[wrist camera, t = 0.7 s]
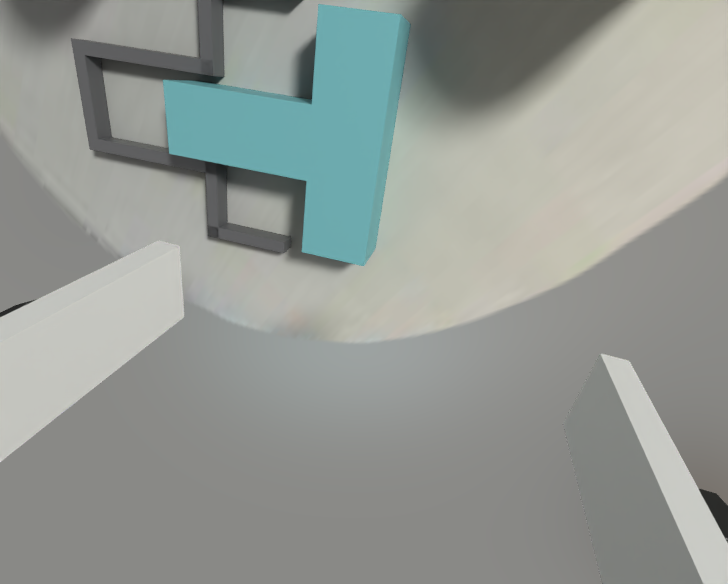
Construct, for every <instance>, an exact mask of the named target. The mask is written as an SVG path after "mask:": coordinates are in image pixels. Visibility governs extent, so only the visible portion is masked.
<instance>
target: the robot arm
mask: <svg viewBox="0 0 728 584" xmlns="http://www.w3.org/2000/svg"><path fill="white" fill-rule="evenodd" d="M183 317H184V304H183V289H182V275H181V260H180V246H179V245H175V244H171V243H167V242H163V241H159V240H158V241H156V242H154V243H152V244H150V245H148V246H146V247H144V248H142V249H140V250H138V251H136V252H134V253H132V254H130V255H128V256H125V257H123V258H121V259H119V260H117V261H115V262H113V263H111V264H109V265H107V266H105V267H103V268H101V269H99V270H97V271H95V272H93V273H91V274H88V275H86V276H84V277H82V278H80V279H78V280H76V281H74V282H72V283H70V284H68V285H66V286H64V287H62V288H60V289H58V290H56V291H54V292H51V293H50V294H47V295H45V296H43V297H41V298H39V299H36V300H33V301H29V302H26V303H22V304H19V305H16V306H13V307H11V308H9V309H7V310H5V311H3V312H1V313H0V462H1V461H2V460H3V459H5V458H6V457H7V456H8V455H10V454H11V453H12V452H13V451H15V450H16V449H17V448H18V447H20V446H21V445H22V444H24V443H25V442H26V441H27V440H28V439H30V438H31V437H33V436H34V435H35V434H36V433H37V432H39V431H40V430H41V429H43V428H44V427H45V426H46V425H48V424H49V423H50V422H51V421H53V420H54V419H55V418H56V417H58V416H59V415H60V414H62V413H63V412H64V411H65V410H67V409H68V408H69V407H70V406H72V405H73V404H74V403H76V402H77V401H78V400H79V399H81V398H82V397H83V396H84V395H86V394H87V393H88V392H90V391H91V390H92V389H93V388H95V387H96V386H97V385H98V384H100V383H101V382H102V381H103V380H105V379H106V378H107V377H109V376H110V375H111V374H112V373H114V372H115V371H116V370H118V369H119V368H120V367H121V366H123V365H124V364H125V363H126V362H128V361H129V360H130V359H132V358H133V357H134V356H135V355H137V354H138V353H139V352H140V351H142V350H143V349H144V348H145V347H147V346H148V345H149V344H151V343H152V342H153V341H154V340H156V339H157V338H158V337H159V336H161V335H162V334H163V333H164V332H166V331H167V330H168V329H170V328H171V327H172V326H173V325H175V324H176V323H177V322H178V321H180V320H181V319H182V318H183ZM563 426H564V430H565V434H566V439H567V443H568V447H569V451H570V455H571V459H572V463H573V467H574V471H575V475H576V480H577V484H578V488H579V492H580V496H581V500H582V504H583V508H584V512H585V516H586V520H587V525H588V529H589V533H590V536H591V541H592V545H593V549H594V553H595V557H596V561H597V566H598V570H599V574H600V578H601V582H602V584H728V506H727V505H726V503H724V501H723V500H722V499H721V498H720V497H719V496H718V495H717V494H716V493H712V492H709V491H705V490H702V489H698V487H697V486H696V484H695V482H694V480H693V478H692V476H691V475H690V473H689V471H688V469H687V467H686V465H685V463H684V462H683V460H682V458H681V456H680V454H679V452H678V450H677V448H676V447H675V445H674V443H673V441H672V439H671V438H670V436H669V434H668V432H667V430H666V428H665V426H664V424H663V423H662V421H661V419H660V417H659V415H658V413H657V411H656V410H655V408H654V406H653V404H652V402H651V400H650V398H649V397H648V395H647V393H646V391H645V389H644V387H643V386H642V384H641V382H640V380H639V378H638V376H637V374H636V373H635V371H634V369H633V367H632V365H631V363H630V361H628V360H624V359H620V358H616V357H612V356H608V355H605V354H600V355H599V357H598V359H597V361H596V362H595V364H594V366H593V368H592V370H591V372H590V374H589V376H588V378H587V379H586V381H585V383H584V385H583V387H582V389H581V391H580V393H579V395H578V397H577V399H576V400H575V402H574V404H573V406H572V408H571V410H570V412H569V413H568V415H567V417H566V419H565V421H564V423H563Z"/></svg>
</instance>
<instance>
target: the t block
mask: <svg viewBox="0 0 728 584" xmlns="http://www.w3.org/2000/svg"><path fill="white" fill-rule="evenodd" d="M410 25H411V24H410V23H409V22H408V21H407V20H406V19H405V18H404V17H403V16H402V15H401V14H393V13H385V12H377V11H369V10H361V9H353V8H346V7H338V6H330V5H322V4H318V19H317V34H316V49H315V63H314V78H313V93H312V100H310V99H304V98H298V97H292V96H286V95H280V94H274V93H268V92H262V91H256V90H250V89H244V88H238V87H232V86H226V85H220V84H214V83H208V82H202V81H191V80H163V86H164V98H165V110H166V121H167V133H168V145H169V154H173V155H178V156H183V157H188V158H193V159H198V160H203V161H208V162H213V163H219V164H224V165H229V166H234V167H239V168H244V169H249V170H254V171H259V172H264V173H269V174H274V175H279V176H284V177H289V178H294V179H299V180H304V181H307V182H306V196H305V211H304V226H303V241H302V252H304V253H308V254H312V255H317V256H321V257H326V258H330V259H334V260H339V261H343V262H348V263H352V264H356V265H361V266H364V265H365V264H366V262H367V261H368V259H369V258H370V256H371V254H372V253H373V251H374V250H375V248H376V241H377V235H378V229H379V222H380V216H381V210H382V203H383V197H384V190H385V184H386V178H387V171H388V165H389V159H390V152H391V146H392V140H393V133H394V127H395V121H396V114H397V108H398V101H399V95H400V89H401V82H402V76H403V70H404V63H405V57H406V51H407V44H408V38H409V31H410Z"/></svg>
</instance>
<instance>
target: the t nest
mask: <svg viewBox="0 0 728 584" xmlns="http://www.w3.org/2000/svg"><path fill="white" fill-rule="evenodd" d="M198 19H199V40H200V58H197V57H190V56H184V55H178V54H171V53H165V52H158V51H152V50H146V49H139V48H133V47H126V46H120V45H114V44H107V43H101V42H94V41H88V40H80V39H72V38H71V41H72V47H73V53H74V59H75V65H76V71H77V77H78V82H79V88H80V94H81V100H82V106H83V112H84V118H85V124H86V130H87V135H88V141H89V147H90V149H91V150H96V151H101V152H106V153H110V154H115V155H120V156H125V157H130V158H135V159H140V160H145V161H150V162H155V163H160V164H164V165H169V166H174V167H179V168H184V169H189V170H194V171H199V172H204V173H206V194H207V216H208V236H210V237H215V238H219V239H224V240H228V241H232V242H237V243H241V244H245V245H250V246H254V247H258V248H263V249H267V250H271V251H276V252H280V253H285V252H286V251H287V250H288V249H289V248H291V237H290V236H285V235H281V234H276V233H272V232H267V231H263V230H258V229H254V228H249V227H245V226H240V225H236V224H231V223H228V220H227V175H226V165H224V164H219V163H213V162H208V161H203V160H198V159H193V158H188V157H183V156H178V155H173V154H169V148H164V147H159V146H154V145H148V144H143V143H138V142H133V141H128V140H123V139H118V138H113V137H112V136H111V129H110V122H109V115H108V108H107V101H106V94H105V87H104V80H103V73H102V67H101V60H100V58H105V59H111V60H118V61H124V62H130V63H136V64H142V65H148V66H154V67H161V68H167V69H173V70H179V71H185V72H191V73H197V74H204V75H210V76H222V77H224V40H223V0H198Z"/></svg>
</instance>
